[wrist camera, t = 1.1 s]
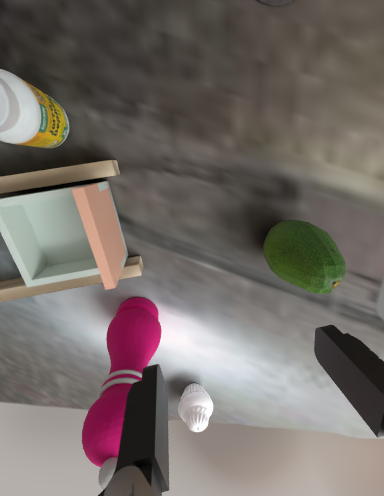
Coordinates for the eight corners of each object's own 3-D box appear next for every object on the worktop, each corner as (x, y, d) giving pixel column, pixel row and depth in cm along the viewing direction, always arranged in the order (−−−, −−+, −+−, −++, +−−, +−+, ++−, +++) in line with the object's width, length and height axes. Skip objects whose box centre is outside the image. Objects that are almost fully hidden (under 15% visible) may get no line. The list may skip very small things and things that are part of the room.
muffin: (185, 373, 40) (189, 414, 33) (214, 381, 41) (224, 421, 35) (171, 397, 42) (173, 440, 35) (200, 403, 43) (207, 445, 37)
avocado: (251, 265, 34) (294, 314, 23) (255, 215, 31) (307, 242, 20) (299, 262, 35) (365, 307, 23) (308, 212, 32) (386, 237, 21)
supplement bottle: (9, 97, 23) (-88, 53, 14) (61, 90, 23) (-2, 43, 15) (29, 152, 25) (-45, 144, 16) (77, 145, 25) (31, 134, 16)
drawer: (15, 195, 26) (-54, 209, 18) (108, 180, 27) (83, 187, 19) (47, 269, 30) (2, 309, 22) (128, 254, 31) (115, 288, 22)
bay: (-108, 194, 25) (-142, 198, 22) (116, 160, 26) (111, 159, 24) (-41, 299, 30) (-62, 313, 27) (143, 265, 32) (141, 275, 29)
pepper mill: (155, 335, 36) (147, 515, 18) (110, 328, 35) (48, 518, 16) (166, 298, 34) (170, 459, 15) (118, 289, 32) (59, 455, 14)
